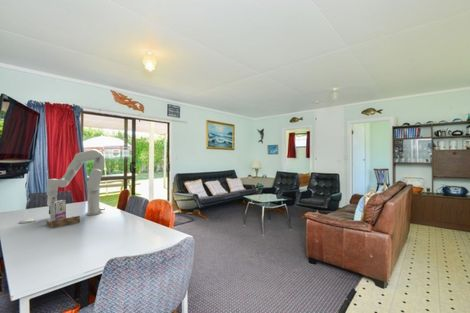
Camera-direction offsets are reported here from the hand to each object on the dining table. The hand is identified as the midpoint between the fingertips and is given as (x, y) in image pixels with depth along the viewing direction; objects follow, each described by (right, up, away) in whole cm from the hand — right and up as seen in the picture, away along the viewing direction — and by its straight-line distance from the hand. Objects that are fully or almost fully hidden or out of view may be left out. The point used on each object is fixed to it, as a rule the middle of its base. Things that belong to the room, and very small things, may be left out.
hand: (51, 213), depth 200 cm
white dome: (-10, -3, -12) cm, 16 cm away
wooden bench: (+22, -3, -16) cm, 28 cm away
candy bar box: (+13, -4, -9) cm, 16 cm away
